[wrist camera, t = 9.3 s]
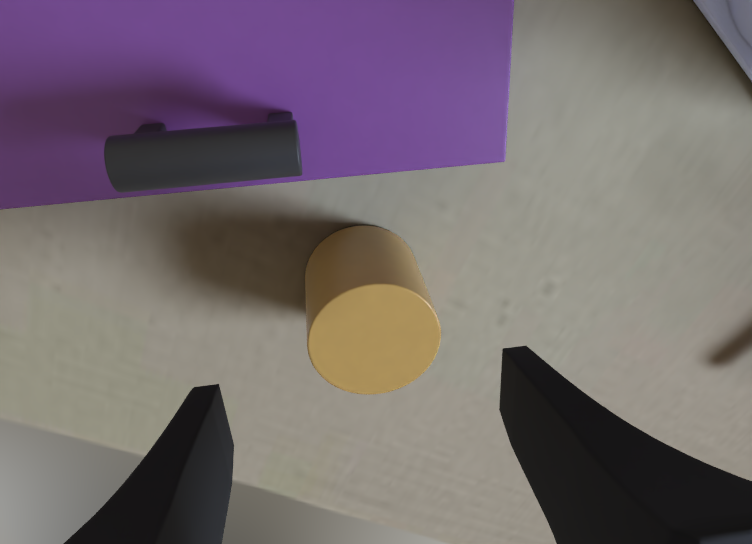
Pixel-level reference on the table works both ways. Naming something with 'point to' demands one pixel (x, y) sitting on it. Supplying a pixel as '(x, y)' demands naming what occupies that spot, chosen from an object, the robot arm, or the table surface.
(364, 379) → the cylinder
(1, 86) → the cover
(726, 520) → the robot arm
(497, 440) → the table surface
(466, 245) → the table surface
